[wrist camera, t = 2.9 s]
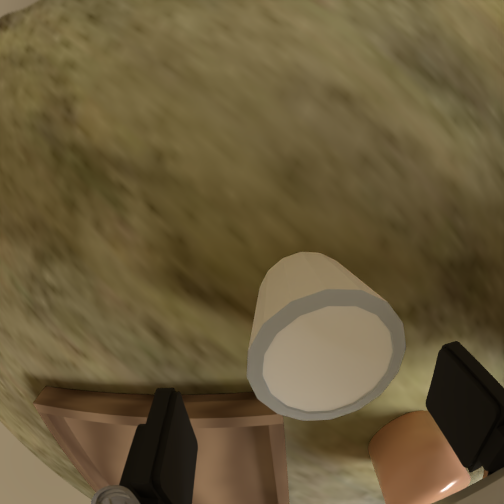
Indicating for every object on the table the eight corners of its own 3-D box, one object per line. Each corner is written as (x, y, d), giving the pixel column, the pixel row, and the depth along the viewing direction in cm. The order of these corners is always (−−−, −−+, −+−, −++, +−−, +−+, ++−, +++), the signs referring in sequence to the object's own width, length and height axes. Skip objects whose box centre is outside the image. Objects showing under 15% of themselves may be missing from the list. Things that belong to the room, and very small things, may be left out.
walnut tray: (280, 389, 21) (282, 413, 18) (289, 509, 26) (290, 526, 24) (45, 386, 21) (32, 403, 19) (123, 502, 27) (119, 517, 25)
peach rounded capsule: (444, 402, 22) (483, 463, 14) (426, 448, 24) (453, 504, 16) (373, 421, 22) (402, 495, 14) (363, 466, 24) (382, 530, 16)
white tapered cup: (224, 308, 19) (212, 382, 12) (296, 216, 17) (324, 252, 11) (310, 361, 20) (331, 439, 13) (381, 283, 19) (434, 341, 12)
